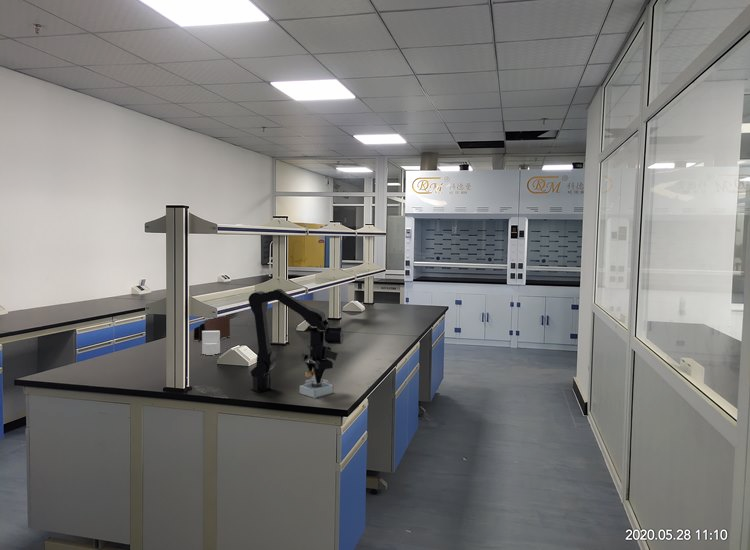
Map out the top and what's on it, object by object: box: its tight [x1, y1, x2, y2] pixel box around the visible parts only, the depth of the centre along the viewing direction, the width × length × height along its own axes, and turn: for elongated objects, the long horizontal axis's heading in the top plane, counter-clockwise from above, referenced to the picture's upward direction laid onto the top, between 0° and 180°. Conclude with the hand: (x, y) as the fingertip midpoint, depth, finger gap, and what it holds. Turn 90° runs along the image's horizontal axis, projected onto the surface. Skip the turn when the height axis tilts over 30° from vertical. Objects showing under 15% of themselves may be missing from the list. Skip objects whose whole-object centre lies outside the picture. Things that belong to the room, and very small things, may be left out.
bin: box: [298, 382, 334, 399], centre depth 209 cm, size 10×9×3 cm
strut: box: [305, 369, 322, 388], centre depth 208 cm, size 4×6×7 cm, turn 119°
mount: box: [304, 376, 329, 385], centre depth 222 cm, size 7×7×2 cm
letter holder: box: [193, 315, 231, 341], centre depth 317 cm, size 10×20×14 cm, turn 151°
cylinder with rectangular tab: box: [201, 331, 221, 356], centre depth 277 cm, size 9×9×12 cm
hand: (316, 382), depth 209 cm, fingers closed on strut, 4 cm apart
